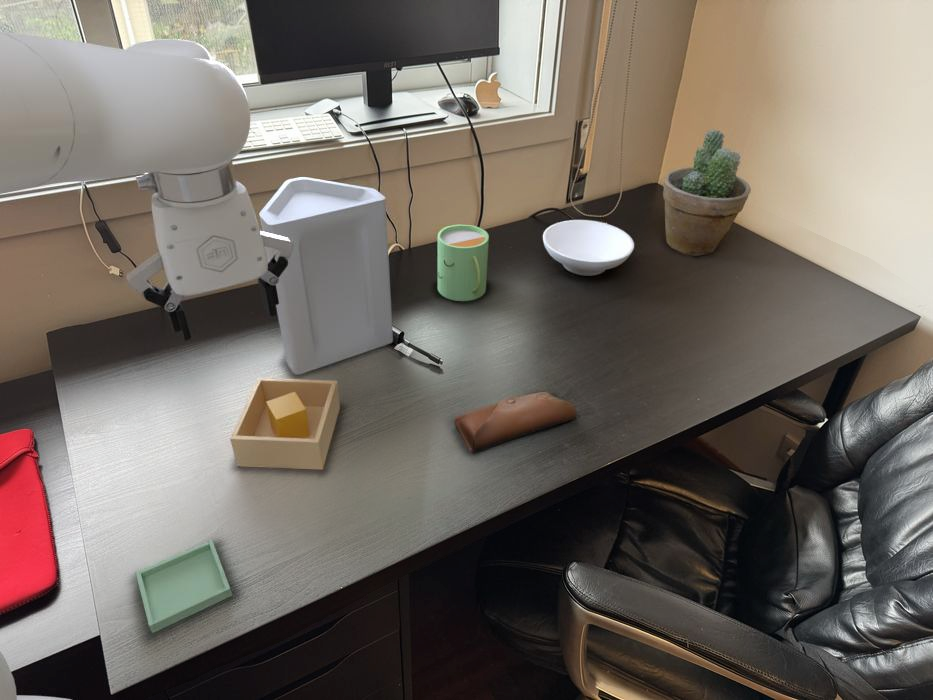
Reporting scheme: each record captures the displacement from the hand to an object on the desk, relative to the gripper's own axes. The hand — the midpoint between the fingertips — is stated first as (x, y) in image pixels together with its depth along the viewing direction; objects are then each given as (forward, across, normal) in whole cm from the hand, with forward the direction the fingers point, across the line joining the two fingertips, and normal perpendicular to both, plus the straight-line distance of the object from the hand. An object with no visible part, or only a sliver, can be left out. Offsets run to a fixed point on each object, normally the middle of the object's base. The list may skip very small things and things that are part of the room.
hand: (228, 322), depth 73 cm
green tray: (+28, -14, -11) cm, 33 cm away
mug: (+27, +51, +30) cm, 65 cm away
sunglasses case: (+28, +37, -8) cm, 47 cm away
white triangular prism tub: (+27, +21, +28) cm, 45 cm away
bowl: (+27, +80, +25) cm, 88 cm away
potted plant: (+27, +109, +20) cm, 114 cm away
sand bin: (+27, +6, +7) cm, 29 cm away
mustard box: (+27, +6, +8) cm, 28 cm away
